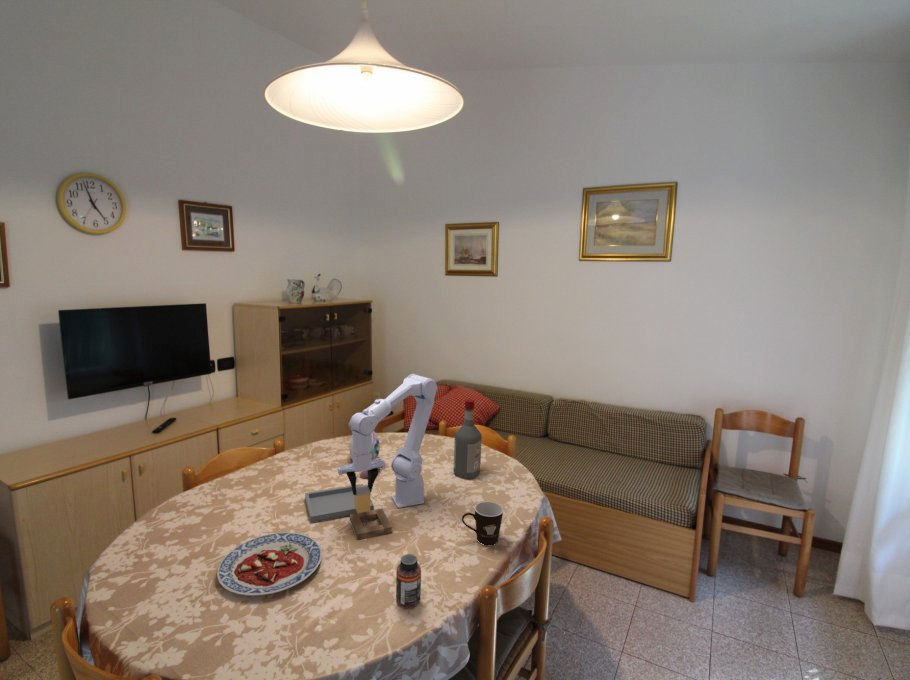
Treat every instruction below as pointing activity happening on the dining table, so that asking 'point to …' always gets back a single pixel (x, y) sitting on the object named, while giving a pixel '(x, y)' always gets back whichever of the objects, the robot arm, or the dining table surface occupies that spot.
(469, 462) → the liquor
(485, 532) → the coffee mug
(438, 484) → the dining table surface
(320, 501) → the parts tray
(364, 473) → the video game controller
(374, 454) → the decorative egg
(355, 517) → the socket
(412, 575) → the supplement bottle
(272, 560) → the ceramic plate
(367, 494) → the block
